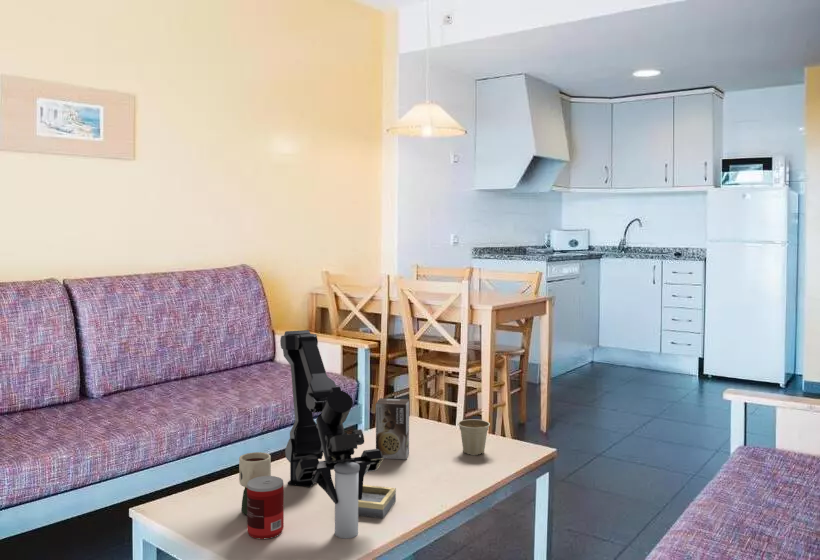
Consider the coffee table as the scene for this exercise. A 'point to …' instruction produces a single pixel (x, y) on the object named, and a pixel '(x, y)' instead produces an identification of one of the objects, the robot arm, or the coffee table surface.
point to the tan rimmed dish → (376, 501)
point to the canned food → (265, 507)
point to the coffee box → (392, 428)
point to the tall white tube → (346, 499)
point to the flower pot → (473, 435)
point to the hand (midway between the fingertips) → (348, 501)
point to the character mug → (252, 471)
